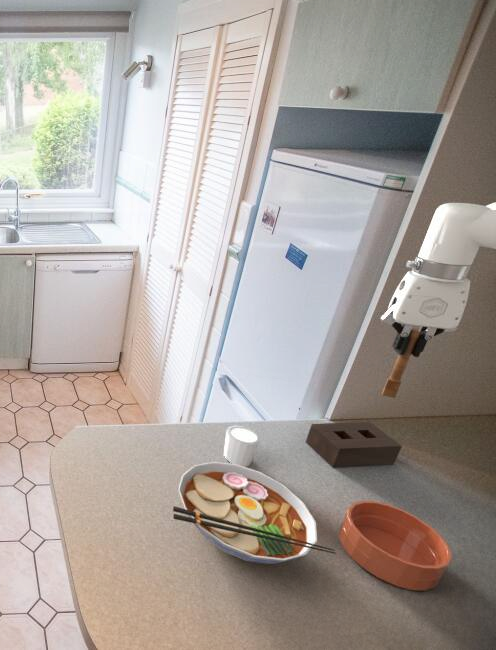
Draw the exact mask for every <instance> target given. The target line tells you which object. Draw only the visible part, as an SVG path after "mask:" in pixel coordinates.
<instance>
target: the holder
mask: <svg viewBox="0 0 496 650" xmlns="http://www.w3.org/2000/svg"><path fill="white" fill-rule="evenodd" d="M305 444H307V445H308V446H309V448H311V449H312V450H313V451H314V452H315V453H316V454H317V455H318V456H320V457H321V458H322V459H323V461H325V462H326V463H327V464H328V465H329V466H330V467H331V468H333V469H334V468H353V467H354V468H355V467H375V466H393V465H395V463H396V460H397V458H398V456H399V453H400V452H401V449H402V447H403V445H402V444H401V443H400V442H398V441H396V440H395V439H394V438H392V436H390V435H388V434H387V433H386V432H384V431H383V430H381V429H380V428H379V427H377V426H376V425H375V424H373V422H370V421H351V422H349V421H348V422H327V423H324V422H323V423H311V425H310V428H309V431H308V433H307V436H306V438H305Z"/></svg>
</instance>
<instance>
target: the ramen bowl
mask: <svg viewBox="0 0 496 650" xmlns="http://www.w3.org/2000/svg"><path fill="white" fill-rule="evenodd" d="M177 490H178V494H179V496H180V499H181V502H182V505H183V506H182V507H183V508H182V507H179V506H173V507H172V511H173V512H175V513H173V516H172V517H173V520H177V521H183V522H186V523H192V524H193V525H194V526H195V527H196V528H197V530H198V531H199V532H200V533H201V535H202V536H203V537H204V538H205V539H206V540H207V541H209V542H210V543H211V544H213V545H214V546H216V547H217V548H218V549H220V550H221V551H223V552H224V553H226V554H229V555H231V556H232V557H233V556H234V557H236V558H238V559H240V560H243V561H246V562H251V563H260V564H271V565H274V564H280V563H285V562H287V561H292V560H295V559H299V558H302V557H304V556H307V554H309V552H310V550H311V549H312V550H317V551H321V552H326V553H331V554H336V552H335V551H336V550H335V549H333V548H330V547H326V546H323V545H318V544H316V543H317V542H318V533H317V522H316V520H315V519H314V516H313V515H312V513H311V512H310V511H309V509H308V508H307V506H306V504H305V503H304V502H303V501H302V500H301V499H300V498H299V497H298V496H297V495H296V494H294V493H293V492H292V491H291V490H290V489H289V488H288V487H286V485H284V484H283V483H281V482H279V481H277V480H276V479H273V478H272V477H270V476H268V475H266V474H264V473H263V472H261V471H257V470H255V469H253V468H249V467H247V466H246V467H243V466H240V465H237V464H231V463H229V462H219V461H210V462H204V463H199V464H194V465H192V467H190V468H189V469H188V470H186V471H185V472H184V473H183V474H182V475H181V478H180V481H179V485H178V488H177ZM177 513H179V514H177ZM185 515H187V516H185Z"/></svg>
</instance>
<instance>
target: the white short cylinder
mask: <svg viewBox="0 0 496 650" xmlns="http://www.w3.org/2000/svg"><path fill="white" fill-rule="evenodd" d="M260 443H261V437H260V435H259V433H257V432H256V431H254V430H253V429H251V428H249V427H246V426H243V425H234V424H233V425H230V426H228V427H227V428H226V432H225V440H224V447H223V457H224V456H225V458H226V459H227V460H228V461H229V462H230V463H232V464H237V465H240V466H243V467H246V468H247V467H249V466H250V465H251V463H252V460H253V459H254V457H255V454H256V452H257V449H258V447H259V445H260ZM225 458H224V459H225ZM226 459H225V460H226ZM227 460H226V461H227ZM228 461H227V462H228ZM229 462H228V463H229ZM249 464H250V465H249Z"/></svg>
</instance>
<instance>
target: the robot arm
mask: <svg viewBox="0 0 496 650" xmlns="http://www.w3.org/2000/svg"><path fill="white" fill-rule="evenodd" d="M480 247H483V248H487V249H494V250H496V201H495V202H492V203H490V204H487V205H481V204H477V203H468V202H447V203H443V204H441V205H439V206H438V207H437V208H436V209H435V212H434V214H433V216H432V219H431V222H430V224H429V227H428V229H427V232H426V235H425V237H424V240H423V242H422V245H421V246H420V250H419V252H418V254H417V256H415V258H414V260H407V261H406V264H405V267H406V268H410V269H411V270H408V271H407V273H406V274H405V275H403V278H402V279H401V280H400V282H399V284H398V285H397V287H396V289H395V291H394V293H393V295H392V297H391V299H390V301H389V304H388V307H387V311H386V312H384V314H383V315H382V316H381V317H380V321H381V322H382V323H383V324H386V325H388V326H390V327H392V328H393V329H394V330H395V332H396V335H395V338H394V340H393V342H392V348H393V350H394V351H395V352H396V353H397V355H398V356H399V355H404V354H405V351H406V349H407V346H408V344H409V342H410V338H409V337H408V336H409V333H410V330H411V328H413V326H415V327H419V328H418V329H419V330H421V333H420V335H419V337H418V340H417V342H416V345H415V347H414V350H413V352H412V354H411V356H413V357H415V358H420V356H421V353H423V352H424V350H425V347H426V345H427V343H428V341H431V340H433V338H434V337H436V336H438V335H441V334H442V333H447V332H448V333H449V332H456V331H457V330H458V326H459V325H460V322H461V320H462V317H463V316H464V313H465V308H466V307H467V302H468V299H469V295H470V288H471V280H470V279H468V278H467V277H468V274H469V271H470V269H471V267H472V264H473V263H474V260H475V258H476V256H477V253H478V251H479V249H480Z"/></svg>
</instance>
